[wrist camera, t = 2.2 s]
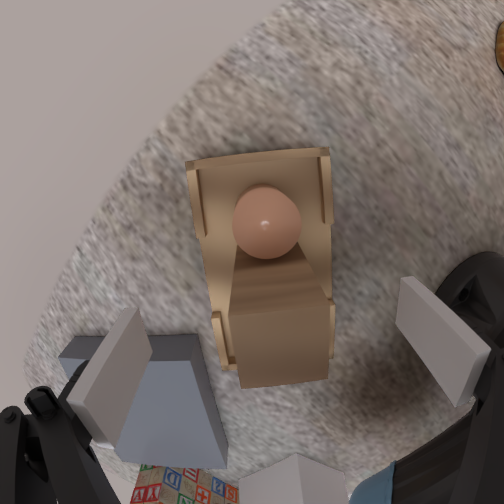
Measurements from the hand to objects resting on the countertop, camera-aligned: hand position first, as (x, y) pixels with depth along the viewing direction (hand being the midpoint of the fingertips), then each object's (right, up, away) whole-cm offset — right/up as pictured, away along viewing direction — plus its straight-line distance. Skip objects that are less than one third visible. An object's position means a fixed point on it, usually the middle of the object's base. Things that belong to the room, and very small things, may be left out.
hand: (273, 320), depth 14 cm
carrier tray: (0, +3, +10) cm, 11 cm away
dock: (-12, -13, +16) cm, 24 cm away
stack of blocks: (-9, -33, +23) cm, 41 cm away
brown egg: (0, +6, +6) cm, 8 cm away
